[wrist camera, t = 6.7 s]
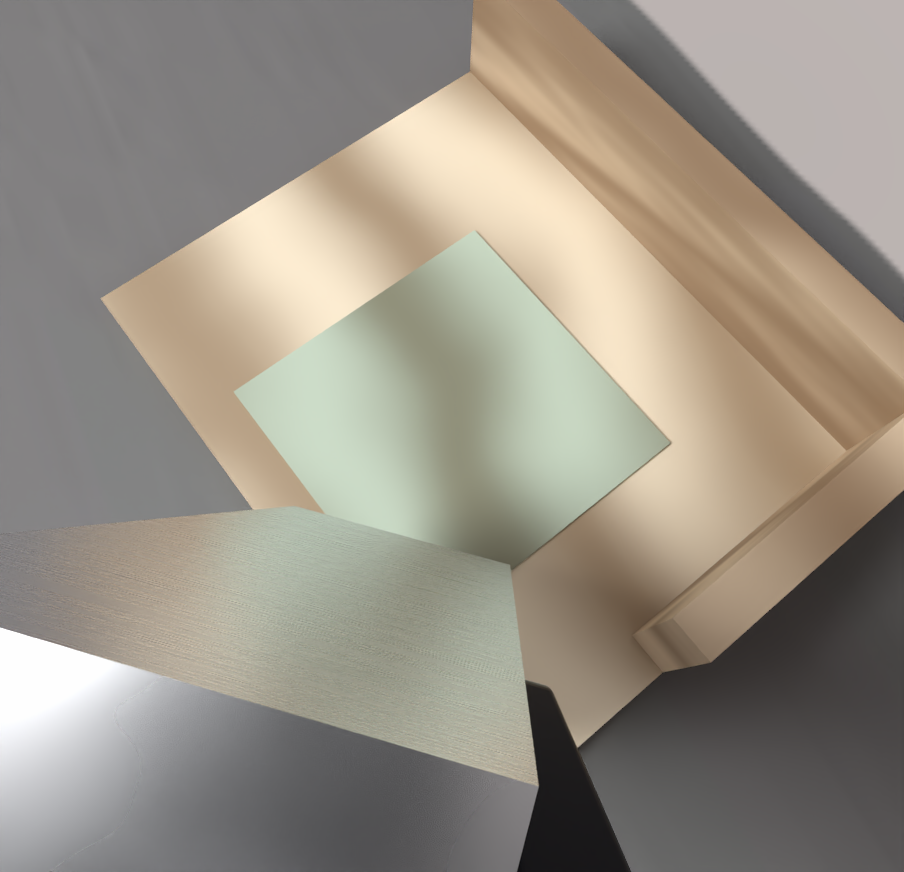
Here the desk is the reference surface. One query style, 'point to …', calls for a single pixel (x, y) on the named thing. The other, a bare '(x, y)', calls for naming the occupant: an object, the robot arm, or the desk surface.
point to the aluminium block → (259, 700)
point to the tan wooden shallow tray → (545, 359)
